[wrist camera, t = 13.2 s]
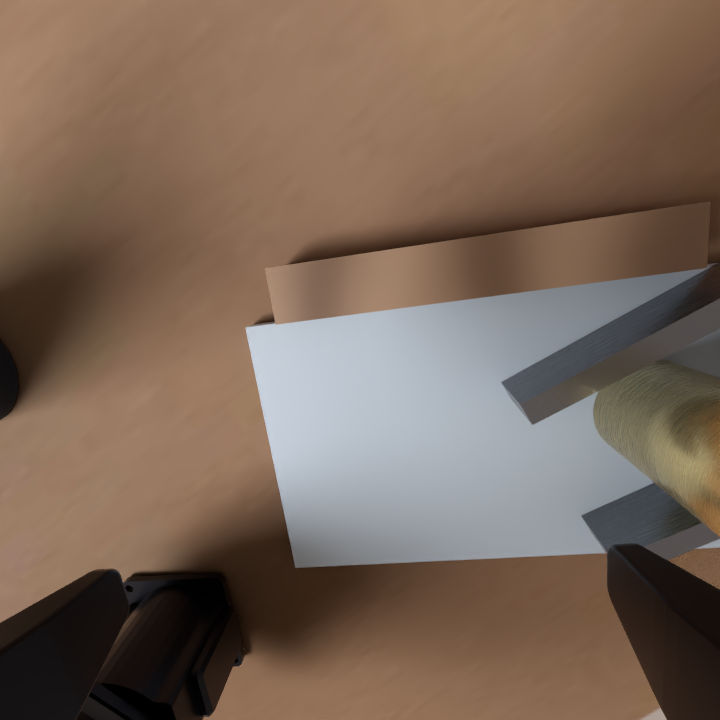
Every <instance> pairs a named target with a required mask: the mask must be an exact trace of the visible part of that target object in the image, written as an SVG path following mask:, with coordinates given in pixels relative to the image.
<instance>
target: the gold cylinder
mask: <svg viewBox="0 0 720 720" xmlns="http://www.w3.org/2000/svg"><path fill="white" fill-rule="evenodd" d="M593 418H594V423H595V427H596V429H597V431H598V433H599V435H600V436H601V438H602V439H603V440H604V441H605V442H606V443H607V444H608V445H609V446H611V447H612V448H613V449H614V450H615V451H617V452H618V453H619V454H620V455H621V456H623V457H624V458H625V459H626V460H627V461H629V462H630V463H631V464H632V465H633V466H635V467H636V468H637V469H638V470H639V471H641V472H642V473H643V474H644V475H646V476H647V477H648V478H649V479H650V480H652V481H653V482H654V483H655V484H656V485H658V486H659V487H660V488H661V489H662V490H664V491H665V492H666V493H667V494H668V495H670V496H671V497H672V498H673V499H674V500H676V501H677V502H678V503H679V504H680V505H682V506H683V507H684V508H685V509H686V510H688V511H689V512H690V513H691V514H692V515H694V516H695V517H696V518H697V519H699V520H700V521H701V522H702V523H703V524H705V525H706V526H707V527H708V528H709V529H711V530H712V531H713V532H714V533H715V534H717V535H718V536H719V537H720V378H719V377H716V376H713V375H710V374H707V373H704V372H701V371H698V370H695V369H692V368H689V367H686V366H683V365H680V364H677V363H674V362H671V361H667V360H661V359H660V360H658V361H656V362H654V363H652V364H650V365H648V366H646V367H645V368H643V369H641V370H639V371H637V372H635V373H633V374H631V375H629V376H627V377H625V378H623V379H621V380H619V381H617V382H615V383H613V384H612V385H610V386H608V387H606V388H604V389H602V390H600V391H599V392H598V394H597V396H596V399H595V402H594V408H593Z"/></svg>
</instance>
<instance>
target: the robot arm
mask: <svg viewBox="0 0 720 720" xmlns="http://www.w3.org/2000/svg"><path fill="white" fill-rule="evenodd" d="M216 582H217V583H216ZM607 587H608V592H609V596H610V599H611V601H612V604H613V606H614V608H615V610H616V612H617V615H618V617H619V619H620V621H621V623H622V625H623V628H624V630H625V632H626V634H627V636H628V639H629V641H630V643H631V645H632V647H633V649H634V652H635V654H636V656H637V658H638V660H639V662H640V665H641V667H642V669H643V671H644V673H645V675H646V678H647V680H648V682H649V684H650V686H651V688H652V691H653V693H654V695H655V697H656V699H657V701H658V703H659V705H660V707H661V709H662V711H663V713H664V715H665V717H666V718H667V720H720V590H719V589H717V588H716V587H714V586H712V585H710V584H709V583H707V582H705V581H703V580H702V579H700V578H698V577H696V576H694V575H693V574H691V573H689V572H687V571H686V570H684V569H682V568H680V567H679V566H677V565H675V564H673V563H671V562H670V561H668V560H666V559H664V558H663V557H661V556H659V555H657V554H655V553H654V552H652V551H650V550H648V549H647V548H645V547H643V546H641V545H639V544H637V543H617V544H611V545H610V546H609V547H608V551H607ZM242 643H243V641H242V637H241V633H240V629H239V625H238V621H237V617H236V613H235V610H234V608H233V606H232V602H231V599H230V595H229V591H228V587H227V583H226V579H225V577H224V576H223V575H222V574H220V573H199V574H178V575H157V576H136V577H129V578H127V579H126V581H125V582H124V583H123V581H122V578H121V575H120V573H119V572H118V571H117V570H116V569H98V570H94V571H91V572H89V573H88V574H86V575H84V576H82V577H81V578H79V579H77V580H75V581H74V582H72V583H70V584H68V585H66V586H65V587H63V588H61V589H59V590H58V591H56V592H54V593H52V594H51V595H49V596H47V597H45V598H44V599H42V600H40V601H38V602H36V603H35V604H33V605H31V606H29V607H28V608H26V609H24V610H22V611H21V612H19V613H17V614H15V615H14V616H12V617H10V618H8V619H7V620H5V621H3V622H1V623H0V720H203V718H204V717H209V716H211V714H212V713H213V712H214V710H215V708H216V706H217V703H218V701H219V698H220V696H221V694H222V691H223V689H224V686H225V684H226V682H227V679H228V677H229V674H230V672H231V670H232V667H233V666H239V665H241V663H242V661H243V659H244V656H245V653H244V649H243V645H242Z"/></svg>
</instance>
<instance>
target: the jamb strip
mask: <svg viewBox="0 0 720 720" xmlns="http://www.w3.org/2000/svg"><path fill="white" fill-rule="evenodd" d="M710 206H711V201H707V202H701V203H694V204H687V205H681V206H674V207H668V208H661V209H654V210H648V211H641V212H635V213H628V214H621V215H615V216H608V217H601V218H595V219H588V220H582V221H575V222H568V223H562V224H555V225H548V226H542V227H535V228H529V229H522V230H515V231H509V232H502V233H496V234H489V235H482V236H476V237H469V238H462V239H456V240H449V241H443V242H436V243H429V244H423V245H416V246H409V247H403V248H396V249H390V250H383V251H376V252H370V253H363V254H357V255H350V256H343V257H337V258H330V259H323V260H317V261H310V262H304V263H297V264H290V265H284V266H277V267H270V268H265V272H266V277H267V282H268V288H269V293H270V298H271V303H272V309H273V314H274V319H275V324H276V325H277V324H285V323H293V322H300V321H308V320H316V319H323V318H331V317H338V316H346V315H354V314H361V313H369V312H376V311H384V310H392V309H399V308H407V307H415V306H422V305H430V304H437V303H445V302H453V301H460V300H468V299H475V298H483V297H491V296H498V295H506V294H514V293H521V292H529V291H536V290H544V289H552V288H559V287H567V286H575V285H582V284H590V283H597V282H605V281H613V280H620V279H628V278H635V277H643V276H651V275H658V274H666V273H674V272H681V271H689V270H696V269H704V268H707V263H708V244H709V225H710Z"/></svg>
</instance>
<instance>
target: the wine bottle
mask: <svg viewBox="0 0 720 720" xmlns="http://www.w3.org/2000/svg"><path fill="white" fill-rule="evenodd" d="M18 387H19V386H18V378H17V371H16V367H15V365H14V363H13V360H12V358H11V356H10V353H9V351H8V350H7V349H6V347H5V346H4V345H3V344H2V342H1V341H0V419H1V418H3V417H4V416H6V415H7V414H8V413H9V411H10V410H11V408H12V407H13V405H14V403H15V402H16V397H17V392H18Z"/></svg>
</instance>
